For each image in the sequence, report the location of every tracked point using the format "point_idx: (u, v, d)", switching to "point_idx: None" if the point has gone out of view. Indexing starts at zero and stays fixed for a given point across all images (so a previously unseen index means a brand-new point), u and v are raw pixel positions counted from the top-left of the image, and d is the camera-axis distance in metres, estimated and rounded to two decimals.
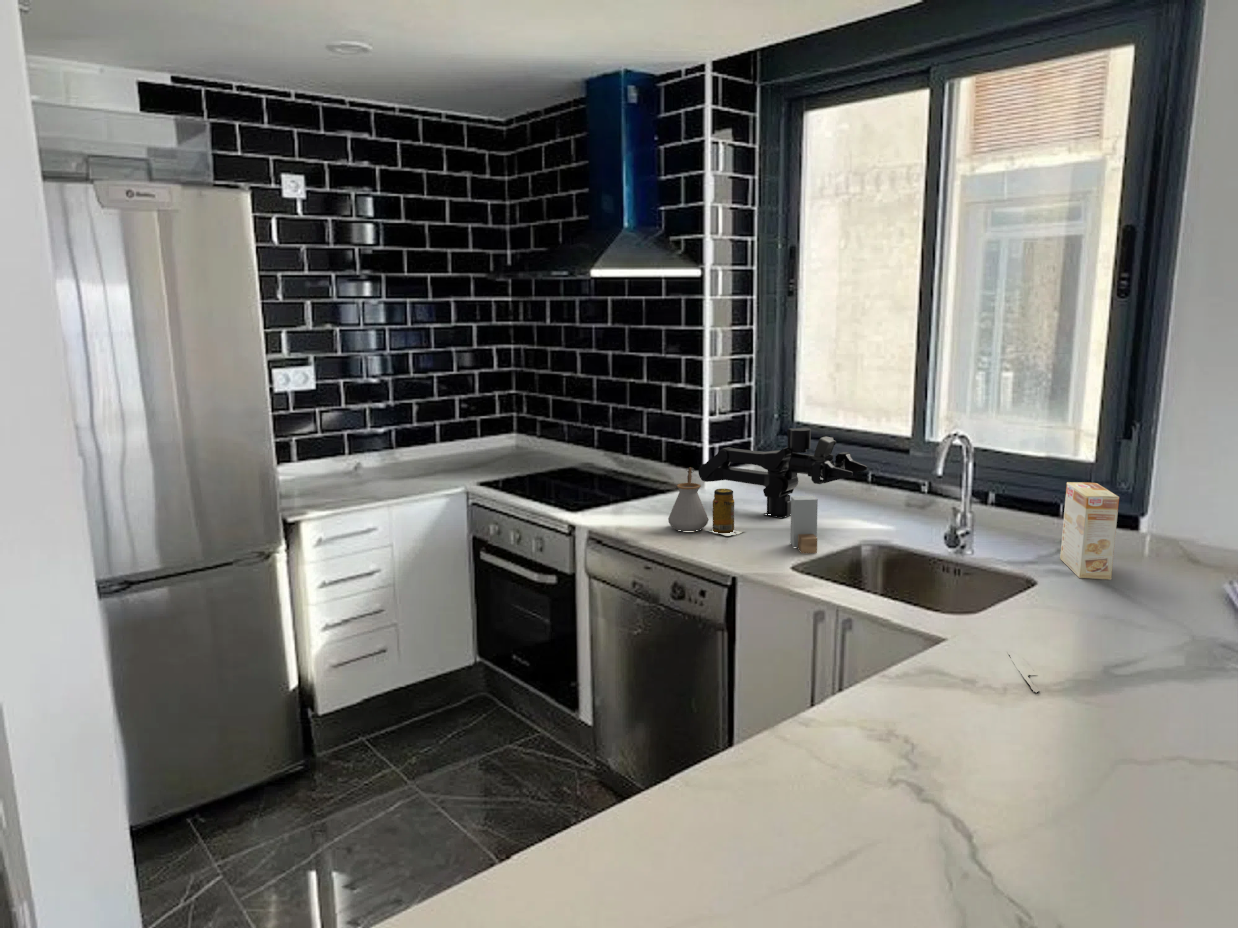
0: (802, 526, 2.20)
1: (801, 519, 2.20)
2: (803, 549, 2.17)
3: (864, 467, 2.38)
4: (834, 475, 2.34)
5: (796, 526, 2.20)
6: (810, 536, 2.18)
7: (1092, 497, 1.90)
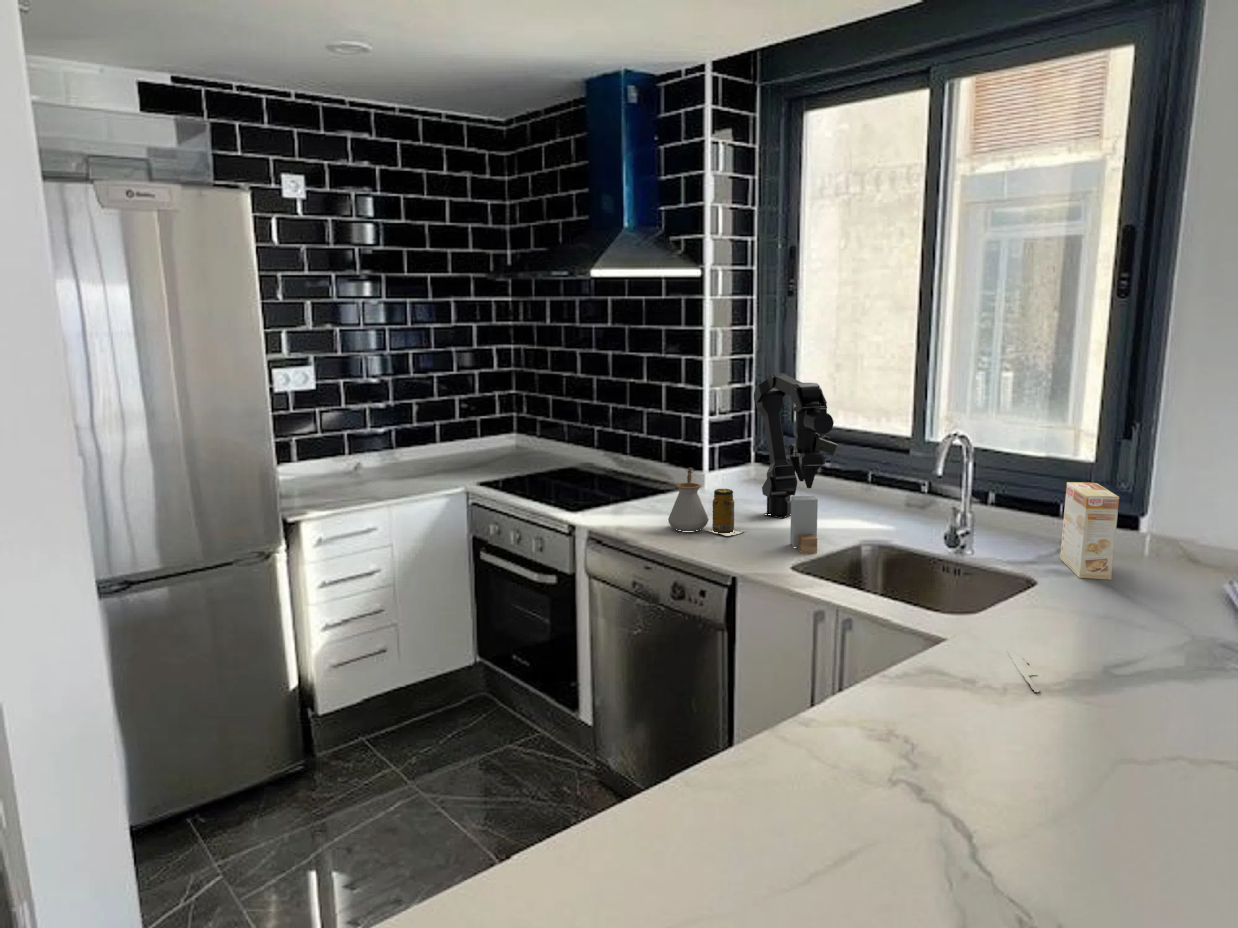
0: (802, 526, 2.20)
1: (801, 519, 2.20)
2: (803, 549, 2.17)
3: (802, 479, 2.40)
4: (807, 472, 2.29)
5: (796, 526, 2.20)
6: (810, 536, 2.18)
7: (1092, 497, 1.90)
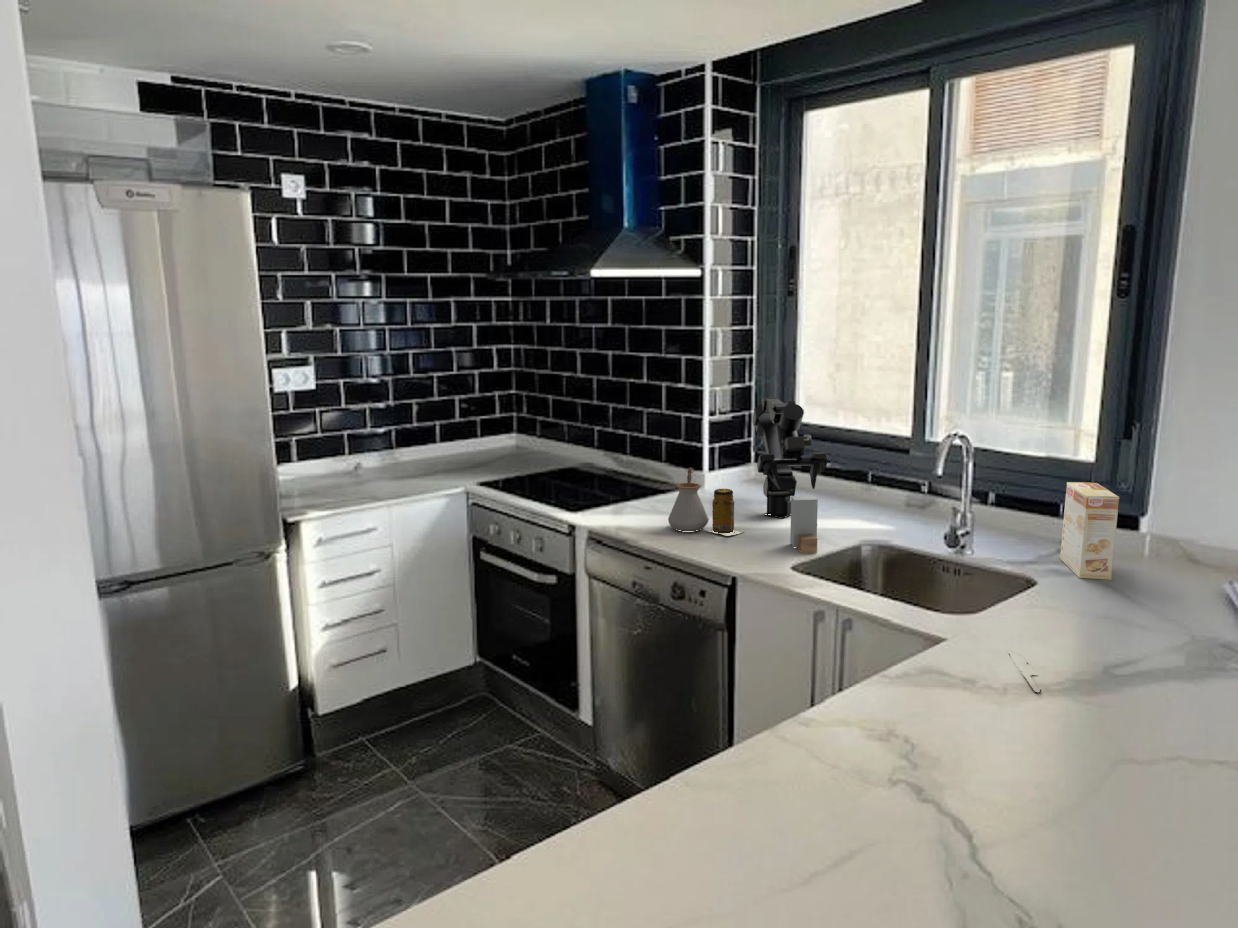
0: (802, 526, 2.20)
1: (801, 519, 2.20)
2: (803, 549, 2.17)
3: (812, 485, 2.29)
4: (772, 476, 2.32)
5: (796, 526, 2.20)
6: (810, 536, 2.18)
7: (1092, 497, 1.90)
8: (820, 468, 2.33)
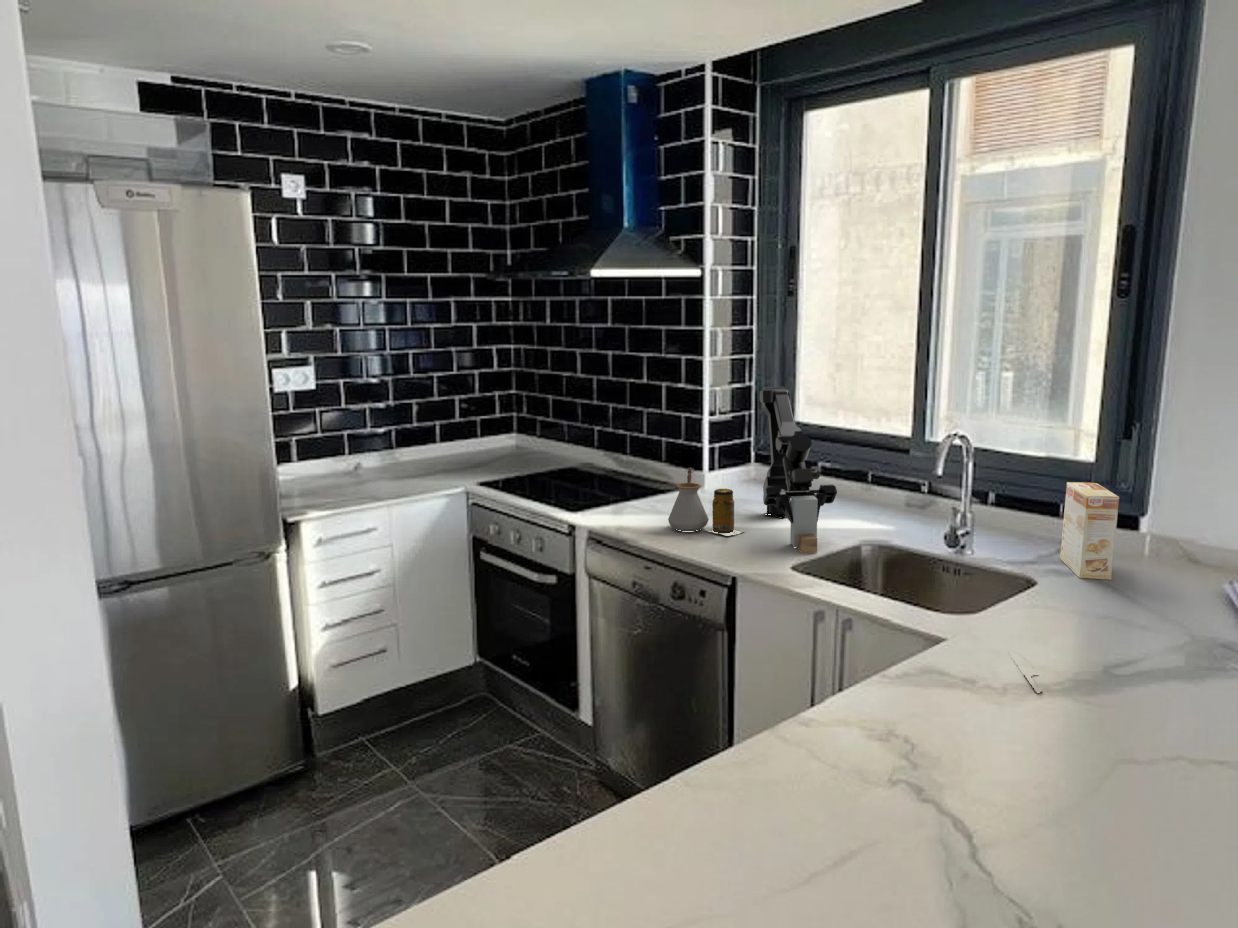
0: (802, 526, 2.20)
1: (801, 519, 2.20)
2: (803, 549, 2.17)
3: None
4: (784, 509, 2.24)
5: (796, 526, 2.20)
6: (810, 536, 2.18)
7: (1092, 497, 1.90)
8: (823, 501, 2.25)
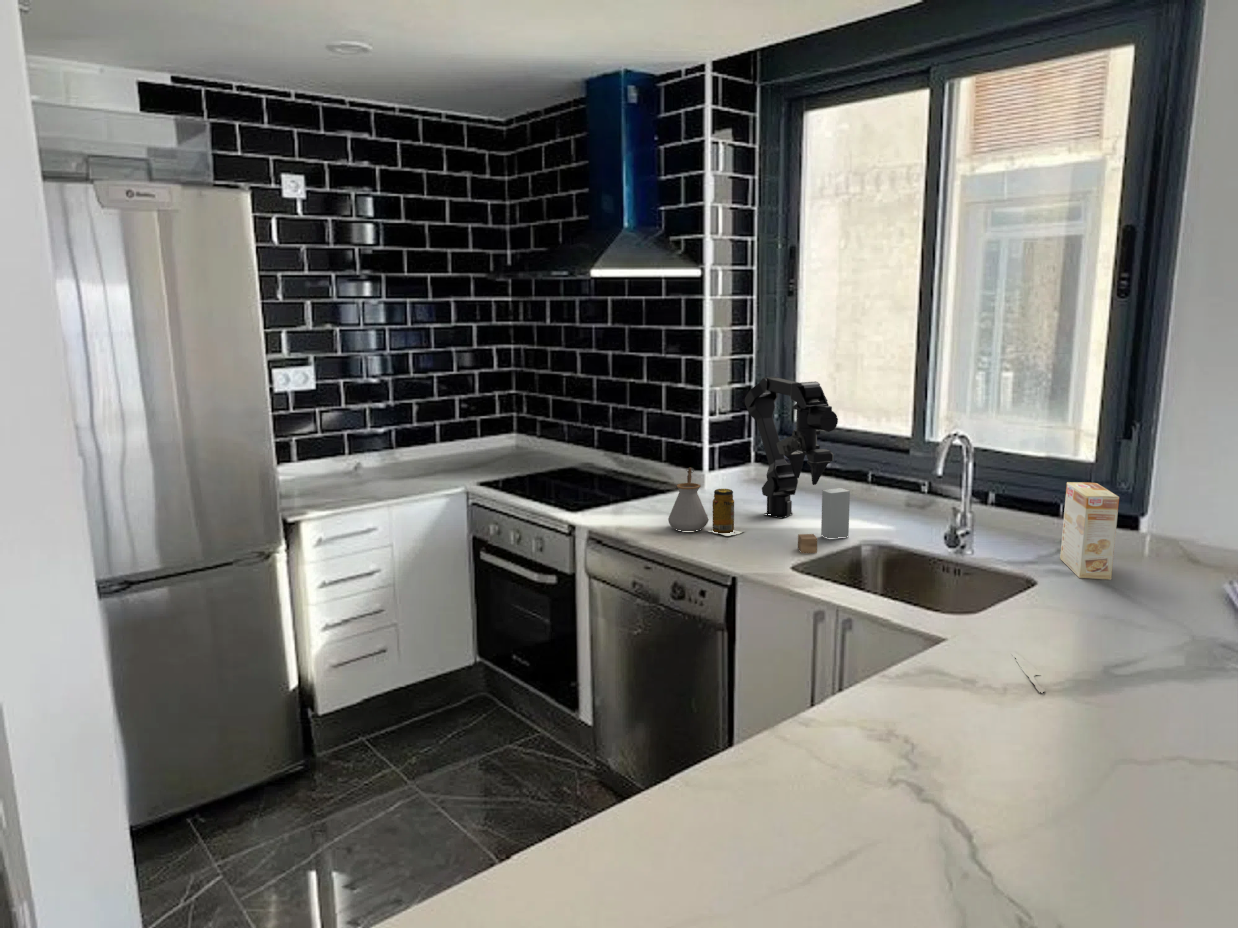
0: (837, 518, 2.27)
1: (836, 511, 2.27)
2: (803, 549, 2.17)
3: None
4: None
5: (832, 518, 2.27)
6: (810, 536, 2.18)
7: (1092, 497, 1.90)
8: None
